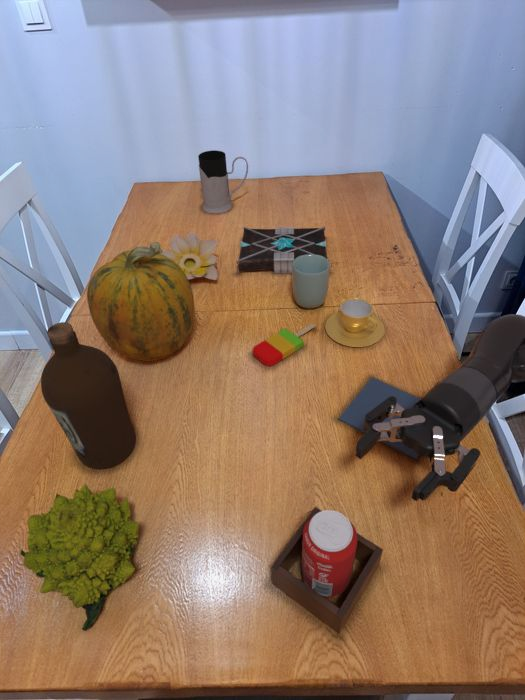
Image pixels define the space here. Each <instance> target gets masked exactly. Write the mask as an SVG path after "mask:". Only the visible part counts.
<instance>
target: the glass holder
mask: <svg viewBox="0 0 525 700" xmlns="http://www.w3.org/2000/svg"><path fill="white" fill-rule="evenodd" d="M197 157H198V163H199V164H198V171H199V179H200V186H201V195H202V202H203V203H202V206H201V207H202V210H203V211H204V212H206V213H207V214H223V213H225V212H228V211H230V210H231V209H232V208H233V203H232V202H231V200H232V196H233V195H234V194H235V193H236V192H237V191H238V190H239V189H240V188H241V187H242V186H243V185H244V183H245V182H246V179H247V177H248V172H249V163H248V161H247V159H246V158H245V157H244V156H237V157H235V158H234V159H233V161H232V162H231V165H232V166H231V171H228V169H227V167H228V166H227V157H226V152H225V151H223V150H216V149H215V150H206V151H202V152H201V153H199V154H198V156H197ZM239 159H242V160H243V161H245V164H246V170H245V175H244V178H243V179H242V181H241V183H240V184H239V185H238V186H237V187H236V188H235V189H234V190H233V191H232V192H231V193H230V183H229V175H231V174H233V173H234V170H235V167H234V165H235V162H236V161H237V160H239Z"/></svg>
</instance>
